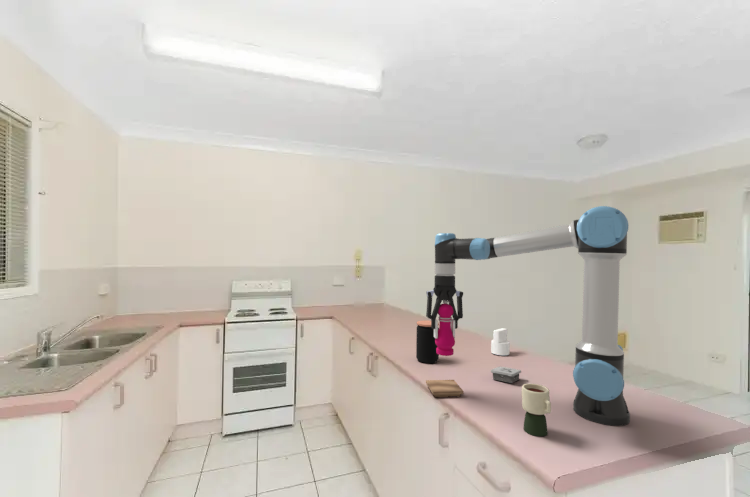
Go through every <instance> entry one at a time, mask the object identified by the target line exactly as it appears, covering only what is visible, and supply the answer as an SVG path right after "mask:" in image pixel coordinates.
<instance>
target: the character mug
mask: <svg viewBox="0 0 750 497" xmlns="http://www.w3.org/2000/svg"><path fill="white" fill-rule="evenodd" d="M521 406H522V409H523V410H524V411H525V415H524V421H523V431H524V432H525V433H527V435H530V436H532V437H533V436H534V437H547V436H548V433H549V432H548V425H547V418H546V415H547V414H551V413H552V403H551V401H550V390H549V388H548V387H546V386H545V385H542V384H537V383H524V384H522V386H521Z"/></svg>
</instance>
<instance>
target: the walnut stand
mask: <svg viewBox="0 0 750 497" xmlns="http://www.w3.org/2000/svg"><path fill="white" fill-rule="evenodd" d="M425 383H426V385H427V387H428V388H429V390H430V392H431V394H432V395H433V396H434V398H446V397H447V398H449V397H448V396H458V397H461V395H465V391H464V390H463V389H462V387H461V386H460V385H459V384H458V383H457V382H456V381H455V379H429V380H427V379H426V380H425Z"/></svg>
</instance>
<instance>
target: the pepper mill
mask: <svg viewBox="0 0 750 497" xmlns="http://www.w3.org/2000/svg"><path fill="white" fill-rule="evenodd" d="M437 315H438V316H437V317H438V319H437V320H438V323H439V325H438V328H439V330H438V338H435V343H436V345H437V346H438V347H437V348H436V353H437V354H438V355H439V356H443V357H444V356H445V357H450V356H453V355H454V353H455V352H454V348H453V347H454V346H455V344H456V338H454V336H453V333H452V331H451V321H452V319H453V316H452V315H453V308H452V306H451V305H449V302H448V300H442V303H441V304H440V307H439V310H438V314H437Z"/></svg>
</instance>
